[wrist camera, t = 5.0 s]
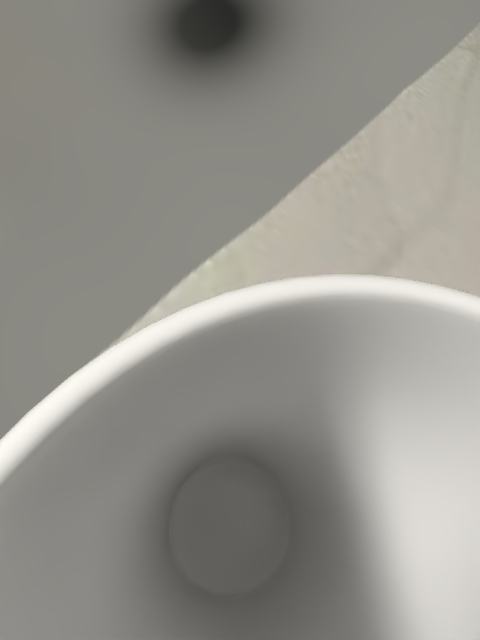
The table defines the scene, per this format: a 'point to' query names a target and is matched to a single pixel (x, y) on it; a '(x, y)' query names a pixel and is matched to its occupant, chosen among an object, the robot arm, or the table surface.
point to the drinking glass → (257, 474)
